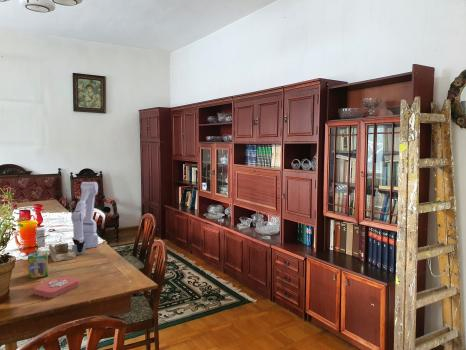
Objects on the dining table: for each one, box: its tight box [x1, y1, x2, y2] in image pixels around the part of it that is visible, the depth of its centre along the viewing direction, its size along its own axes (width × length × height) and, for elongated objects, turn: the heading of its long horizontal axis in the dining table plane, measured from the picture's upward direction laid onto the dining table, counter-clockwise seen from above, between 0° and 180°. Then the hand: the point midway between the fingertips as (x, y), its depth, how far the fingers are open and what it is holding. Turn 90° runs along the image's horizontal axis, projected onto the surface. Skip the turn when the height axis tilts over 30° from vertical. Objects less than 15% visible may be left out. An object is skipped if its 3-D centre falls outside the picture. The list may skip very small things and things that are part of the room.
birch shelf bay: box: [48, 242, 77, 263], centre depth 230 cm, size 12×16×7 cm
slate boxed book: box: [71, 244, 86, 256], centre depth 237 cm, size 7×4×6 cm, turn 126°
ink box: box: [36, 227, 46, 248], centre depth 252 cm, size 8×5×12 cm, turn 124°
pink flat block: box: [33, 276, 80, 299], centre depth 180 cm, size 18×4×15 cm
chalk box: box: [27, 247, 49, 279], centre depth 198 cm, size 9×9×15 cm
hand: (78, 251), depth 237 cm, fingers open, 5 cm apart
